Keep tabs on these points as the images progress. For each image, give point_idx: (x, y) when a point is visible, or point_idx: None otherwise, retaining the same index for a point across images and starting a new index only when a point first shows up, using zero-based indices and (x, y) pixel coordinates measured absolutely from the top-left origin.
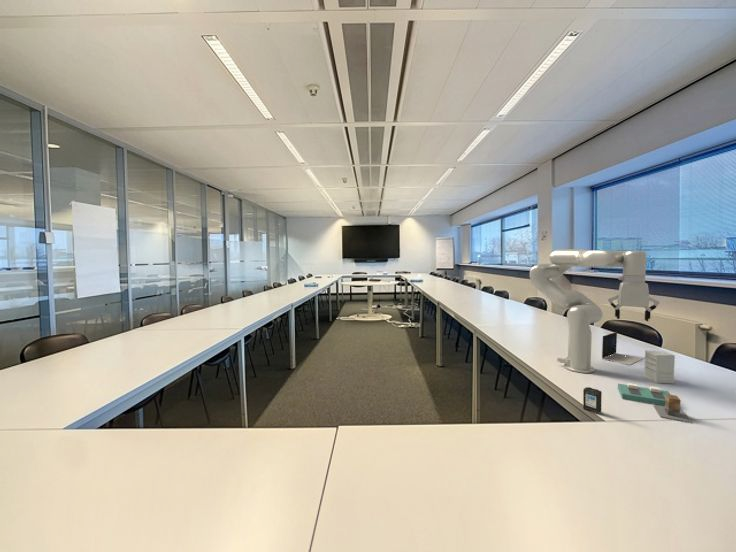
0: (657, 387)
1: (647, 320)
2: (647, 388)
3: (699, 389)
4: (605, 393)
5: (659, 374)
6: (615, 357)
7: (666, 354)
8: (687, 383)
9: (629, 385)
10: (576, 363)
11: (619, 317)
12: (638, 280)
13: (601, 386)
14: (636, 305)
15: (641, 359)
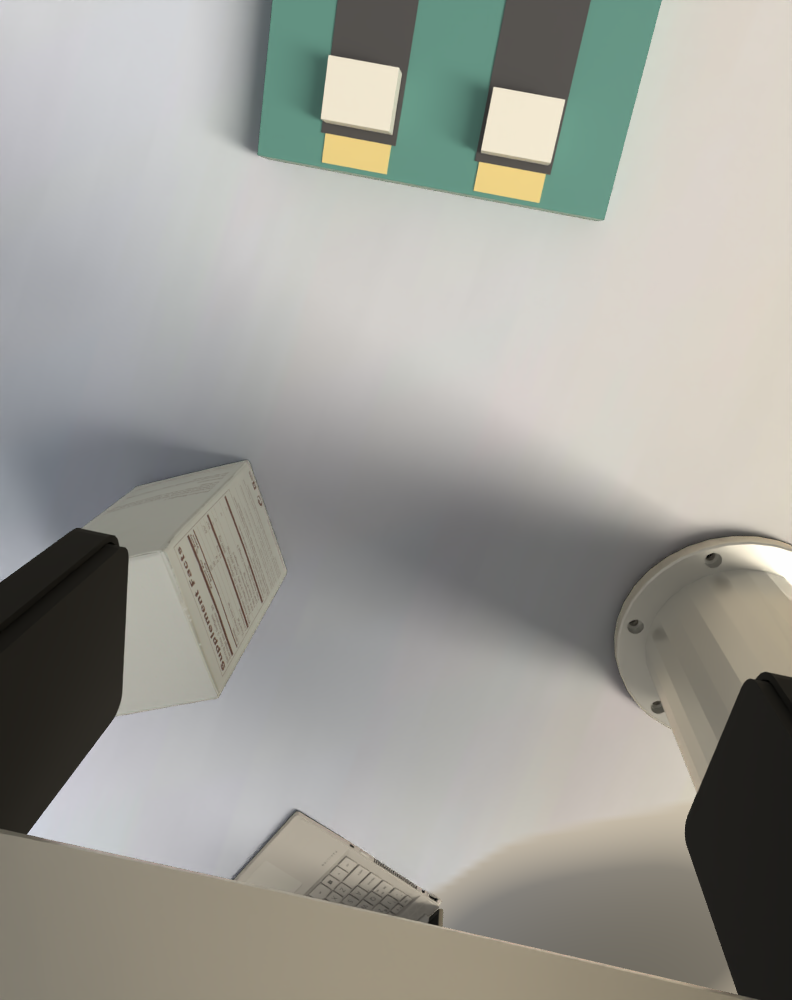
0: (334, 121)
1: (94, 533)
2: (397, 165)
3: (12, 408)
4: (770, 20)
5: (206, 483)
6: None
7: None
8: (49, 517)
9: (558, 99)
10: None
11: (769, 696)
12: None
13: (722, 219)
14: (254, 931)
15: None
